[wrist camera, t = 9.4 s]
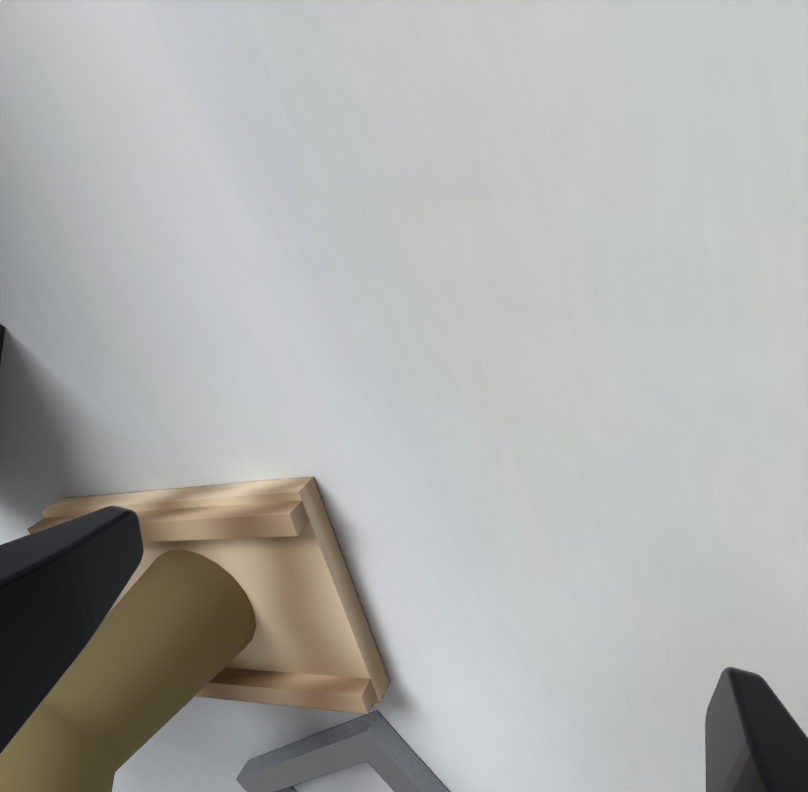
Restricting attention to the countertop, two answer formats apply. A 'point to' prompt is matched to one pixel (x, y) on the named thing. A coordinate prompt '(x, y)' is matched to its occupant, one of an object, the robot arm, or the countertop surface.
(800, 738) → the robot arm
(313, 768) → the socket collar
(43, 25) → the countertop surface
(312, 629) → the tray
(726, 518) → the countertop surface
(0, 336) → the cordless drill
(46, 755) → the cork
